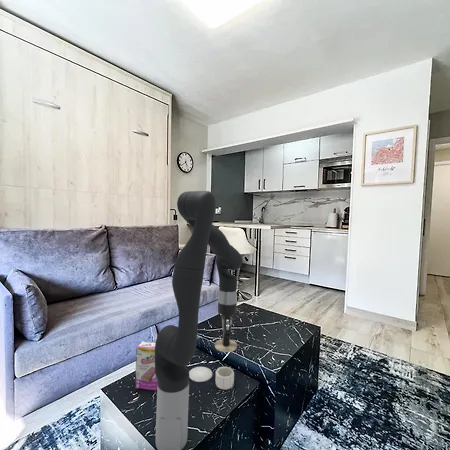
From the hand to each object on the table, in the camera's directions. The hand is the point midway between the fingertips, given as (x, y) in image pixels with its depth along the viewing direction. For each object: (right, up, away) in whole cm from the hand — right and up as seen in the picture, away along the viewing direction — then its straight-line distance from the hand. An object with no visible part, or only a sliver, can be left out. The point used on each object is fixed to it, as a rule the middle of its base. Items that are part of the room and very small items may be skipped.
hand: (225, 343), depth 100 cm
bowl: (-1, -16, 0) cm, 16 cm away
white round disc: (-11, -16, +6) cm, 20 cm away
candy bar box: (-29, -16, -3) cm, 33 cm away
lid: (0, -1, 0) cm, 1 cm away
